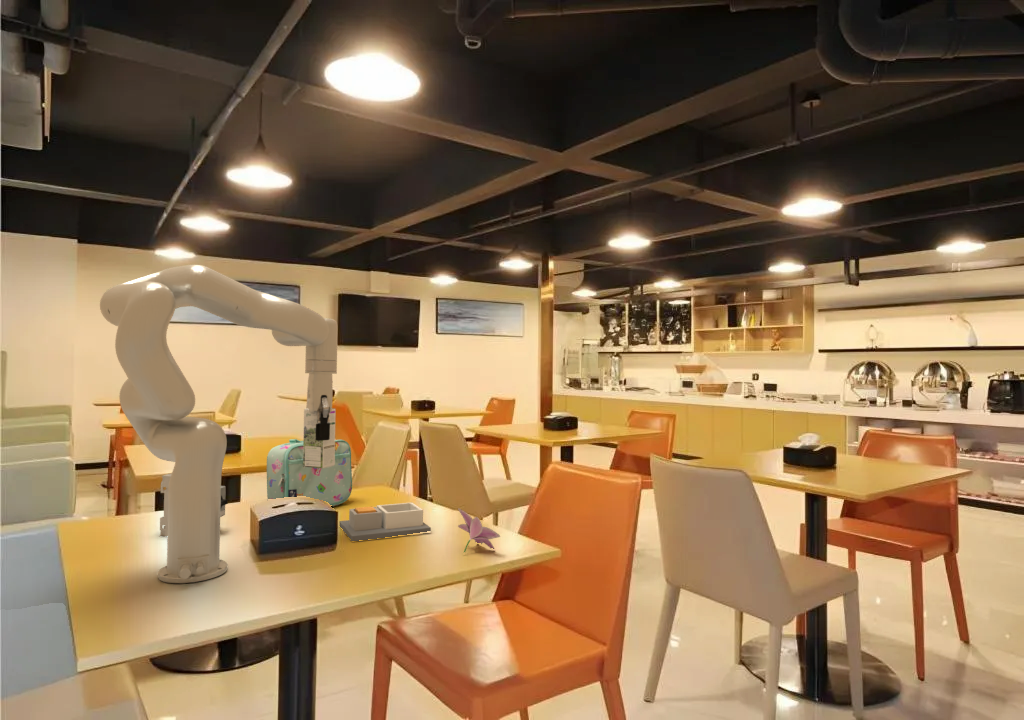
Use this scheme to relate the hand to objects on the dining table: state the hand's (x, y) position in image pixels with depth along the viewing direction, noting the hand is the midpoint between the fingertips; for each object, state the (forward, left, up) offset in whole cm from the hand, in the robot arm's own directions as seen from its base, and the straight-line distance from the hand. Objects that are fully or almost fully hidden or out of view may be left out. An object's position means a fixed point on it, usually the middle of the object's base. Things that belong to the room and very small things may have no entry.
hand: (319, 437), depth 153 cm
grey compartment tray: (+1, -17, -25) cm, 30 cm away
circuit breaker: (+17, +27, -25) cm, 41 cm away
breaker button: (+1, -12, -23) cm, 26 cm away
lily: (-26, -32, -25) cm, 48 cm away
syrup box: (0, 0, -7) cm, 7 cm away
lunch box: (+33, -3, -25) cm, 42 cm away
